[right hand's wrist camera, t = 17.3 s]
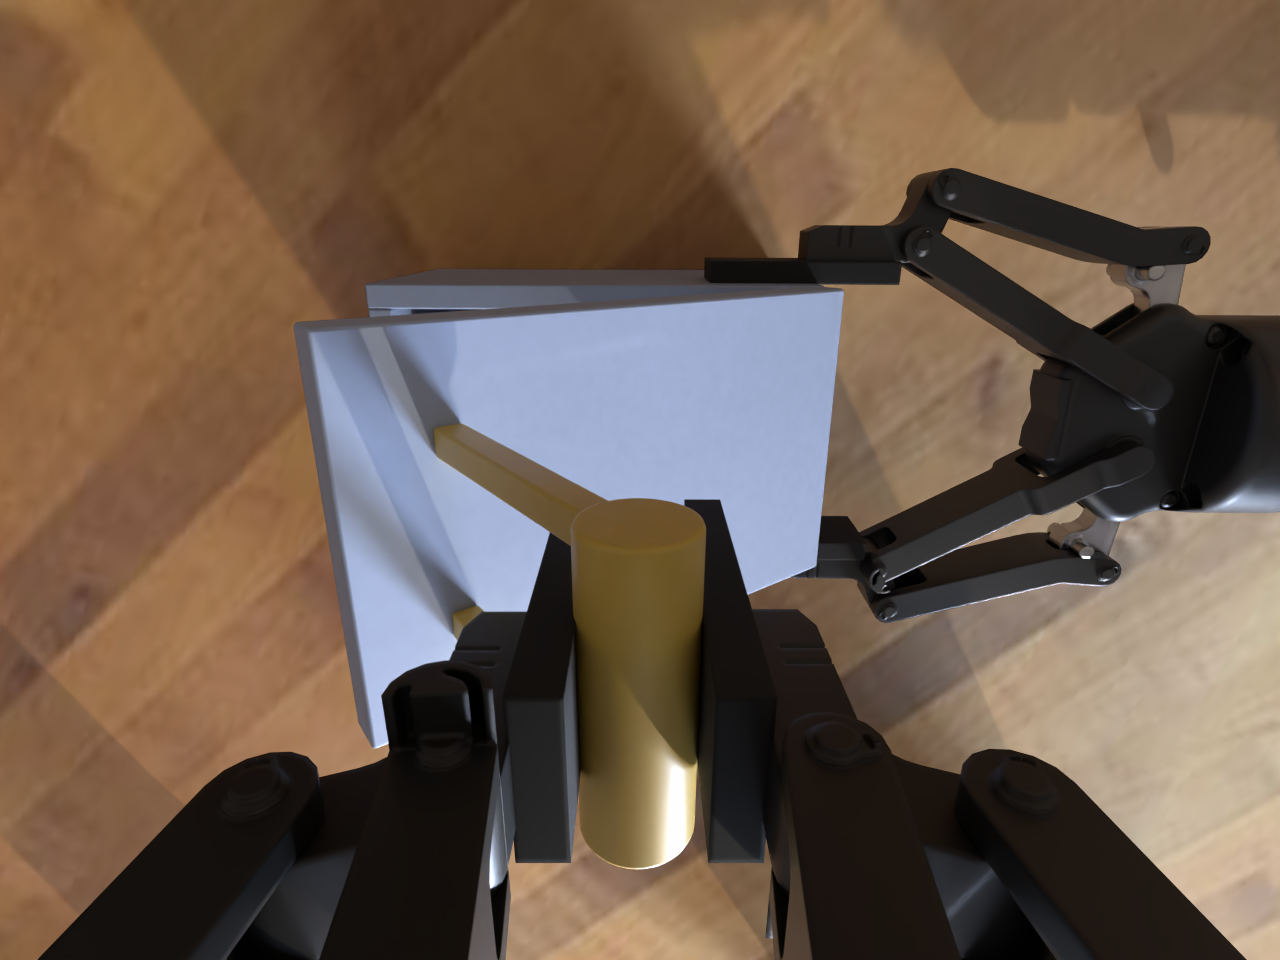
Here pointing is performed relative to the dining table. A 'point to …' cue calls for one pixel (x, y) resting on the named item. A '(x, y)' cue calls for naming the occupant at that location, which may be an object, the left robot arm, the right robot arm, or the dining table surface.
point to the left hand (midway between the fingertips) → (702, 412)
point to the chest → (536, 288)
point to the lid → (573, 501)
